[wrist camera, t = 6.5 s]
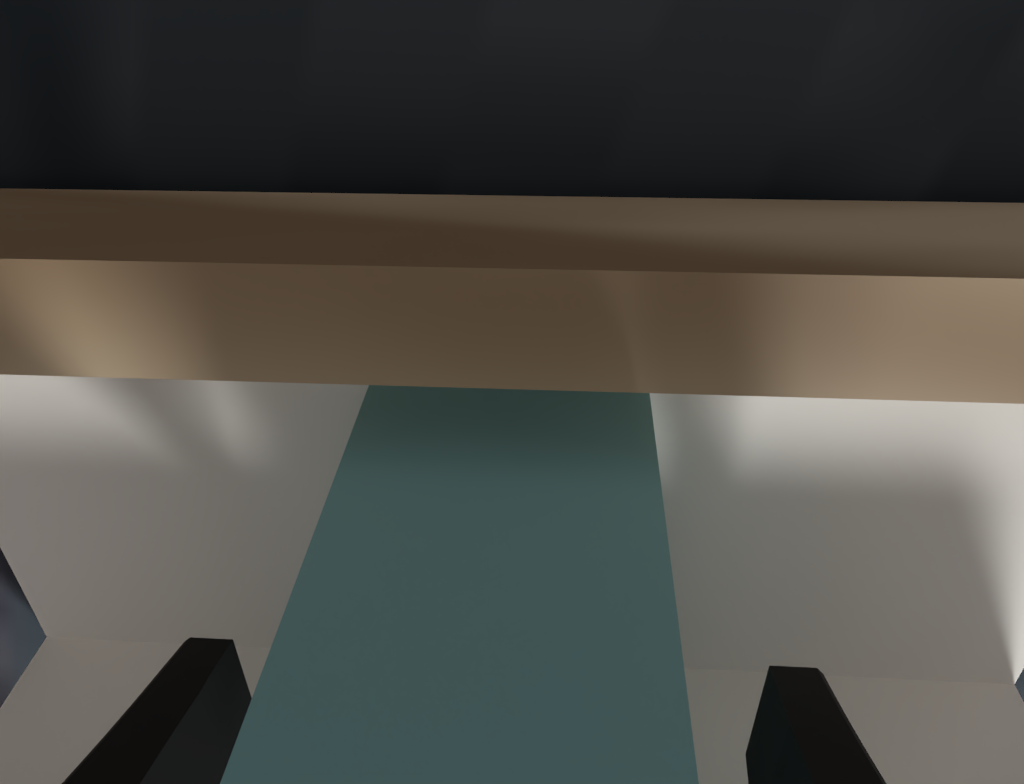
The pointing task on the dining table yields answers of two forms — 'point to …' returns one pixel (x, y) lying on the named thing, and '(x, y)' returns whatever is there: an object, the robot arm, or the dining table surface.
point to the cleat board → (530, 366)
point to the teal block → (481, 603)
